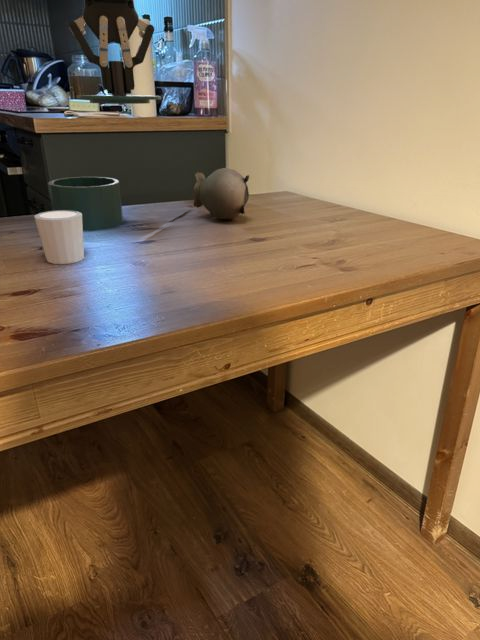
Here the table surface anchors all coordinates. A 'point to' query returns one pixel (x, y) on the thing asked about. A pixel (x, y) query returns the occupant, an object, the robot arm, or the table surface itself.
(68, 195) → the pot
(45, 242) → the shot glass
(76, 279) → the table surface
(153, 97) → the lid
